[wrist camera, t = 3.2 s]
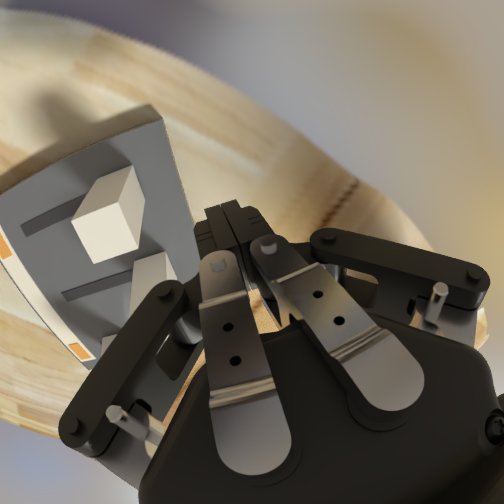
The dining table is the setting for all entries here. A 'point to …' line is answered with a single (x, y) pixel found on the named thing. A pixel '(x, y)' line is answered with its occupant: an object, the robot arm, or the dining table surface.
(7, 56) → the dining table surface
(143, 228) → the switch board
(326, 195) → the dining table surface
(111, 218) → the near slider
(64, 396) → the dining table surface
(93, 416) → the robot arm
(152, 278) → the middle slider
